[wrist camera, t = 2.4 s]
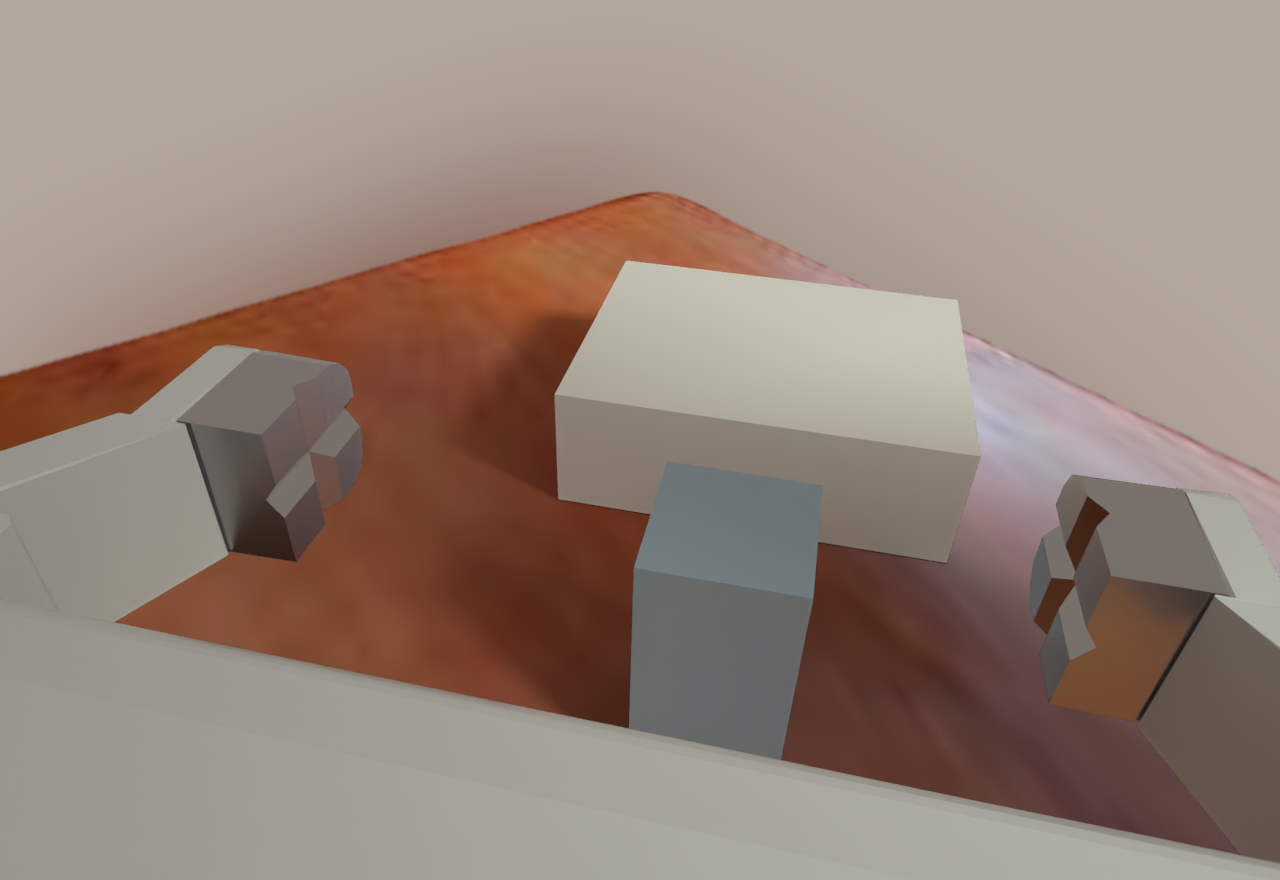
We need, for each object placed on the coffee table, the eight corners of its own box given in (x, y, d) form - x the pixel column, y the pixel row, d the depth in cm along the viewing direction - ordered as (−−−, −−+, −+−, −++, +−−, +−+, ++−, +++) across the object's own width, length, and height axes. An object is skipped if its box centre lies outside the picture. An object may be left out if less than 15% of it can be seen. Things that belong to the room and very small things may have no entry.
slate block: (784, 687, 34) (823, 485, 28) (771, 805, 30) (813, 598, 24) (656, 663, 35) (667, 461, 29) (627, 774, 31) (633, 567, 25)
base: (932, 394, 51) (957, 300, 47) (946, 563, 40) (980, 456, 36) (624, 352, 54) (626, 260, 50) (558, 499, 43) (554, 394, 39)
